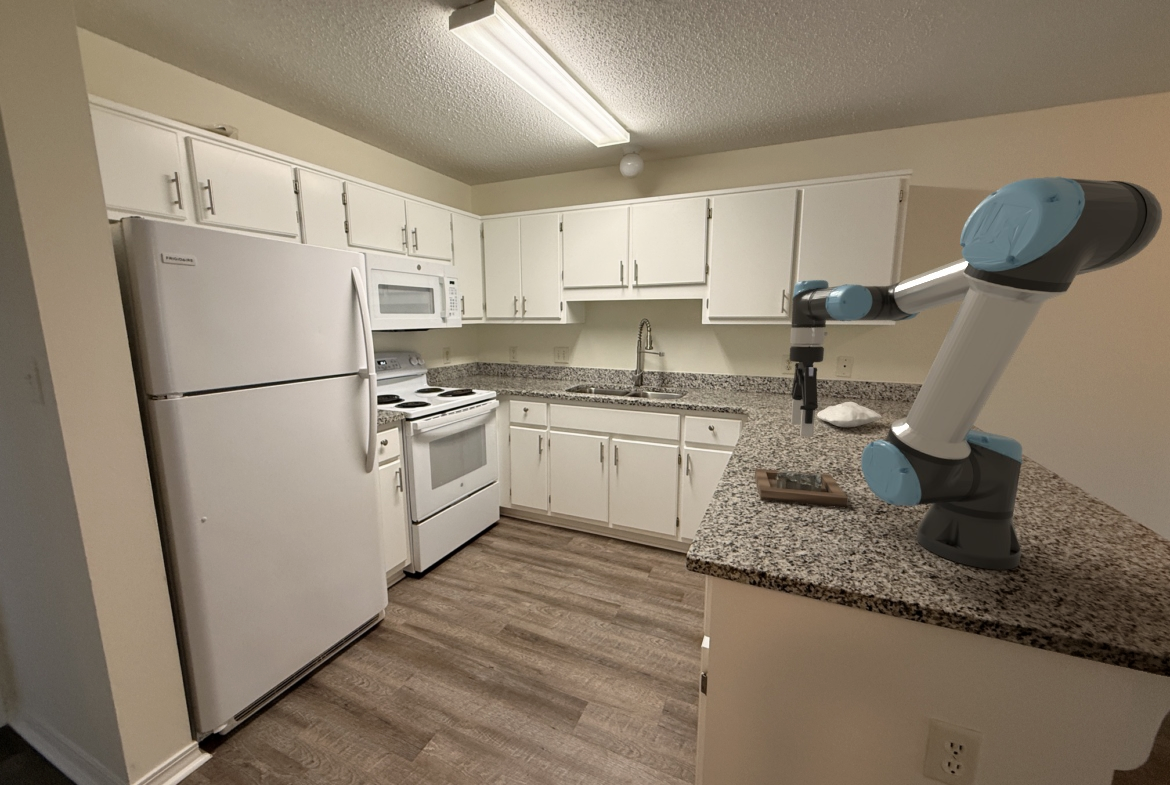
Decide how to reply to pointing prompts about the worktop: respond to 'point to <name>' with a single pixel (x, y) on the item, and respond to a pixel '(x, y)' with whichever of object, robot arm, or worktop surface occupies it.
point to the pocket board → (826, 497)
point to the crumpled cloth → (848, 415)
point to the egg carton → (798, 481)
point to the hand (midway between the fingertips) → (801, 430)
